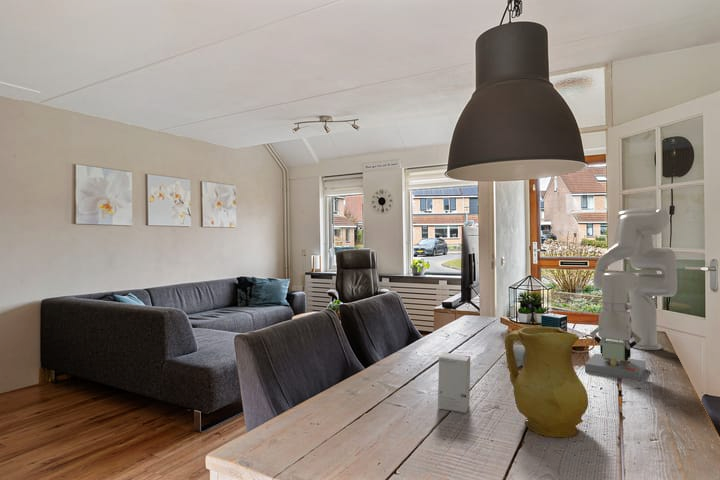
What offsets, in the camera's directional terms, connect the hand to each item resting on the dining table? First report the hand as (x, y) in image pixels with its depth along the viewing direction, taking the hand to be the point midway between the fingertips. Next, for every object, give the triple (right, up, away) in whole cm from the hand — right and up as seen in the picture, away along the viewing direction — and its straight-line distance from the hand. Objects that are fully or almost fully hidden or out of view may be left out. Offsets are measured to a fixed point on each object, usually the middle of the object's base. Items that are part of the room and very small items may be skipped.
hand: (615, 357), depth 149 cm
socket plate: (0, -5, 0) cm, 5 cm away
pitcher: (-42, -6, -41) cm, 59 cm away
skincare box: (-64, -6, -29) cm, 70 cm away
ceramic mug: (-31, -6, +7) cm, 32 cm away
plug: (0, -3, 0) cm, 3 cm away
